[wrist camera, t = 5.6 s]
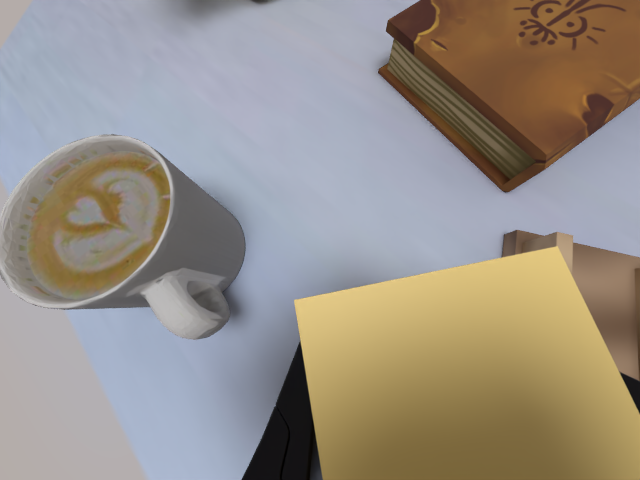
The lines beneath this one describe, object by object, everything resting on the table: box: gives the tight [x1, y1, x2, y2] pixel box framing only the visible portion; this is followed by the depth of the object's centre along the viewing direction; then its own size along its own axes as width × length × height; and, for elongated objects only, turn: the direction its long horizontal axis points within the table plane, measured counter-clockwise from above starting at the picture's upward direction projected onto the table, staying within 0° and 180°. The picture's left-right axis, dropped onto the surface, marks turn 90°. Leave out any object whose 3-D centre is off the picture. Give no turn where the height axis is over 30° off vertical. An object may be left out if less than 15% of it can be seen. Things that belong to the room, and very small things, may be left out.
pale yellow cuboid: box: [294, 246, 640, 480], centre depth 10 cm, size 4×5×12 cm
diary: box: [378, 0, 640, 192], centre depth 23 cm, size 23×19×6 cm
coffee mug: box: [0, 134, 245, 340], centre depth 17 cm, size 13×10×10 cm
